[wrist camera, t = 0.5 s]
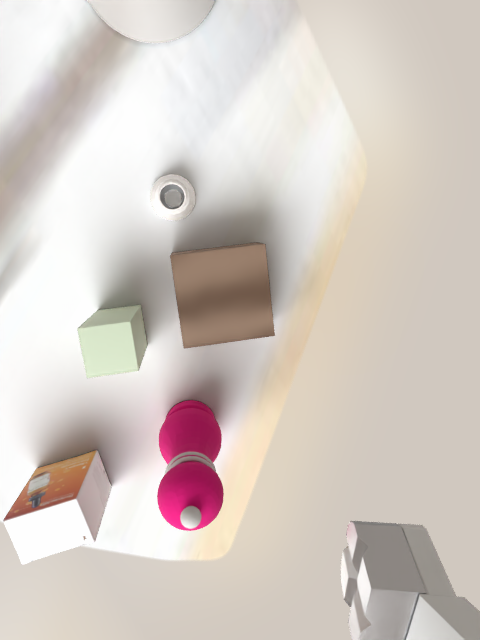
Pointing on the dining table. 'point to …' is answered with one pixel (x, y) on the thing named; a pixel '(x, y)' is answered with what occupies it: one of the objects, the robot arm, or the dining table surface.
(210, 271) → the walnut block
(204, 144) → the dining table surface
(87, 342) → the sage block
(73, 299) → the dining table surface
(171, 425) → the pepper mill
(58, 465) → the small box
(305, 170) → the dining table surface
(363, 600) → the robot arm
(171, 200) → the white hollow cone
